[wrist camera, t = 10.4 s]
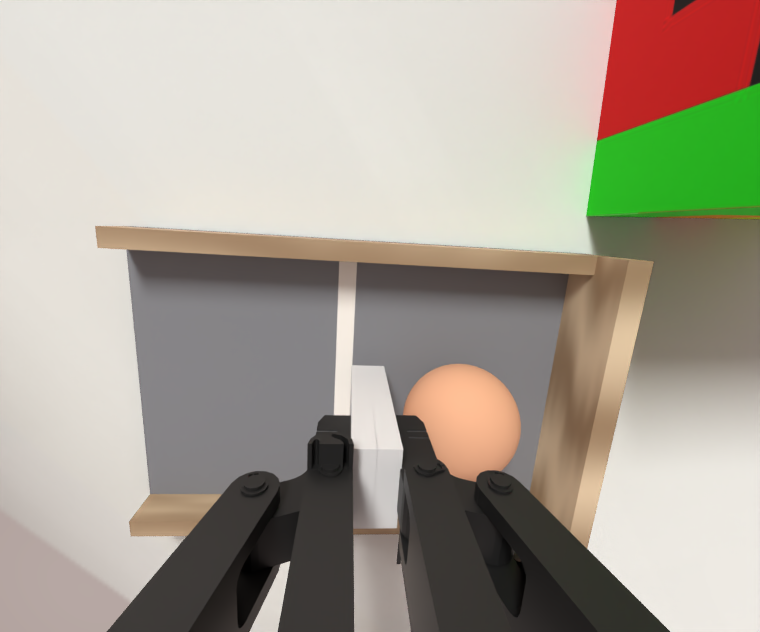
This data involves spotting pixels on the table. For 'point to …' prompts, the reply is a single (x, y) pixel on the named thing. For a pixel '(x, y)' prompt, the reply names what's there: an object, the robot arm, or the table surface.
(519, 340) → the tray
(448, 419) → the ball
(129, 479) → the table surface
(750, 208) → the puzzle toy
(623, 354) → the divided wooden tray
